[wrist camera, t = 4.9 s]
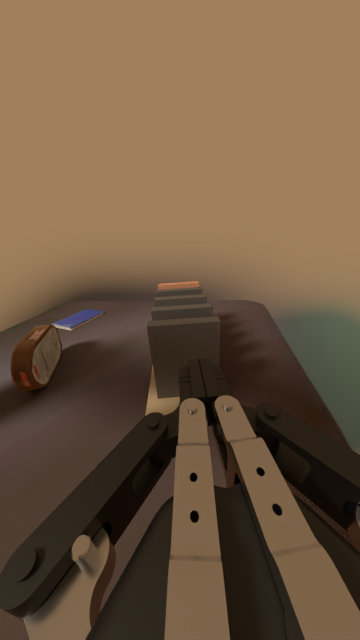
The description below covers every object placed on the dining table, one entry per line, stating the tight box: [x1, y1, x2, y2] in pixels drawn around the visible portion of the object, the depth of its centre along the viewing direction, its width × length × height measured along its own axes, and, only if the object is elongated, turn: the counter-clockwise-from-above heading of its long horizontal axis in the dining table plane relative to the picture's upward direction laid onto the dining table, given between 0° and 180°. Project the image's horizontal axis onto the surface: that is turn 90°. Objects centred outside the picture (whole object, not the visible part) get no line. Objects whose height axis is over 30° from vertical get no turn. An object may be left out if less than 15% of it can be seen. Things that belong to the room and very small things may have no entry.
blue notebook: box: [52, 309, 104, 331], centre depth 59 cm, size 2×8×12 cm
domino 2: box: [156, 287, 202, 297], centre depth 39 cm, size 2×9×12 cm, turn 93°
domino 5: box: [147, 316, 221, 399], centre depth 26 cm, size 2×9×12 cm, turn 93°
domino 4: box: [151, 303, 213, 321], centre depth 30 cm, size 2×9×12 cm, turn 93°
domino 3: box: [154, 294, 207, 307], centre depth 35 cm, size 2×9×12 cm, turn 92°
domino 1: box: [158, 281, 199, 290], centre depth 44 cm, size 2×9×12 cm, turn 92°
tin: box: [11, 325, 62, 392], centre depth 34 cm, size 15×3×8 cm, turn 17°
